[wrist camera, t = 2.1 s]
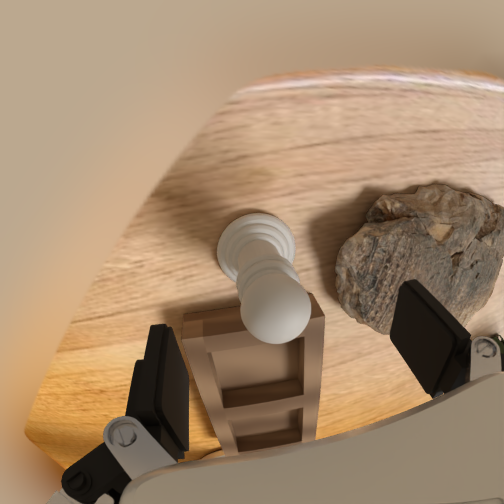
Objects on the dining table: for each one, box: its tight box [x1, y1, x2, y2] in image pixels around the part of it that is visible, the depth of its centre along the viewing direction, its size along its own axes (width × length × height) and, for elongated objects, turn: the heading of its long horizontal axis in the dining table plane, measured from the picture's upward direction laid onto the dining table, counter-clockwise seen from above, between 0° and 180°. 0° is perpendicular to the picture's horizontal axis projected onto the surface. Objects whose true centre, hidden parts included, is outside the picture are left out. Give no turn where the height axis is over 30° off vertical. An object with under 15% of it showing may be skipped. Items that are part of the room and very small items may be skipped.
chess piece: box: [217, 213, 311, 344], centre depth 17 cm, size 5×5×9 cm
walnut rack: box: [181, 294, 325, 457], centre depth 25 cm, size 19×10×3 cm, turn 6°
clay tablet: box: [335, 184, 504, 335], centre depth 21 cm, size 14×5×20 cm
